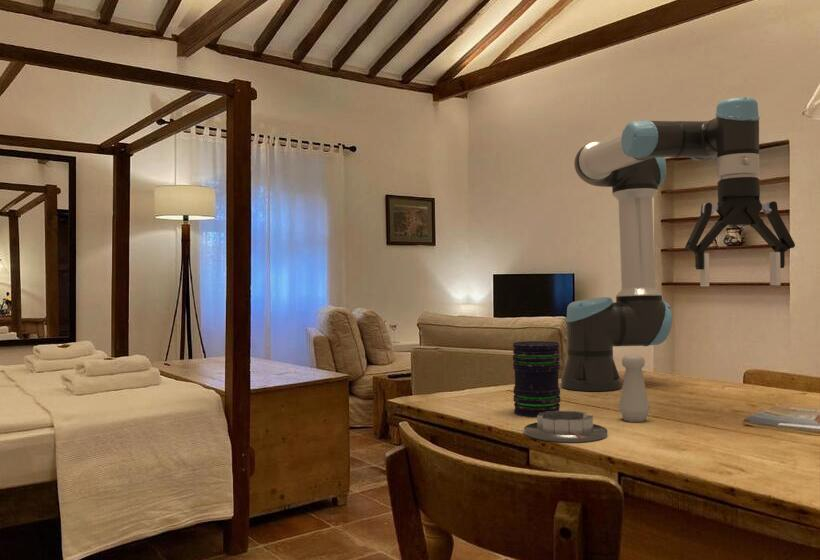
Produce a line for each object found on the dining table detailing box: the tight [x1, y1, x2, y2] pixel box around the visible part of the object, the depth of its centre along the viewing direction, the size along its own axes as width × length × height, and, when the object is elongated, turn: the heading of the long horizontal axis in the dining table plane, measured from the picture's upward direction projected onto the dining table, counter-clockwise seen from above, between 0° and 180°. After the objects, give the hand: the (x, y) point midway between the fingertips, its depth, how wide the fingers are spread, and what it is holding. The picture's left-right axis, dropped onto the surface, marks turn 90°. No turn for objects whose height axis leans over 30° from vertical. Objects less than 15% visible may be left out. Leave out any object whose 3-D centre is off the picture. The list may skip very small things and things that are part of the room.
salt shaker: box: [618, 354, 651, 423], centre depth 139 cm, size 6×6×13 cm
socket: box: [523, 409, 608, 444], centre depth 128 cm, size 15×15×3 cm
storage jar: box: [512, 340, 561, 418], centre depth 148 cm, size 10×10×15 cm
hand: (740, 286), depth 136 cm, fingers open, 13 cm apart
